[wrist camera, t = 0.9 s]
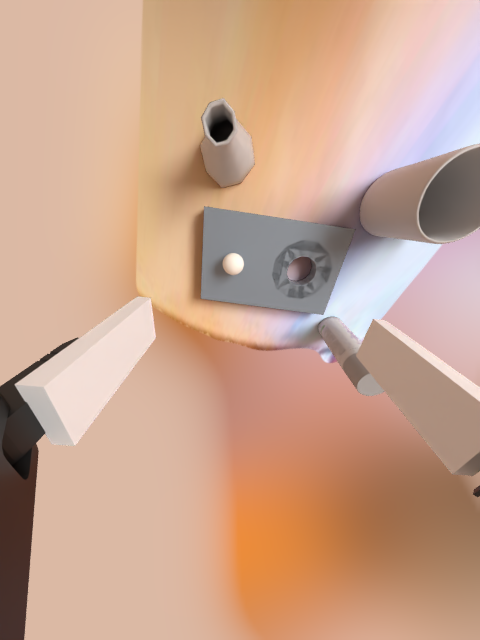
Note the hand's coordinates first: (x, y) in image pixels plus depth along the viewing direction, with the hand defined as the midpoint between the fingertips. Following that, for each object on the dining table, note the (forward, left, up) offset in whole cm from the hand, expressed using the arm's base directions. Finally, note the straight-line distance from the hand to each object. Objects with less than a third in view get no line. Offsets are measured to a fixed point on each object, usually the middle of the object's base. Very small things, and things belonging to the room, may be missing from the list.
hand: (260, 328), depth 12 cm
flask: (-13, -5, -24) cm, 28 cm away
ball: (+1, -3, -19) cm, 20 cm away
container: (+11, +18, -24) cm, 32 cm away
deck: (+1, +3, -24) cm, 24 cm away
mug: (-10, +21, -24) cm, 33 cm away
